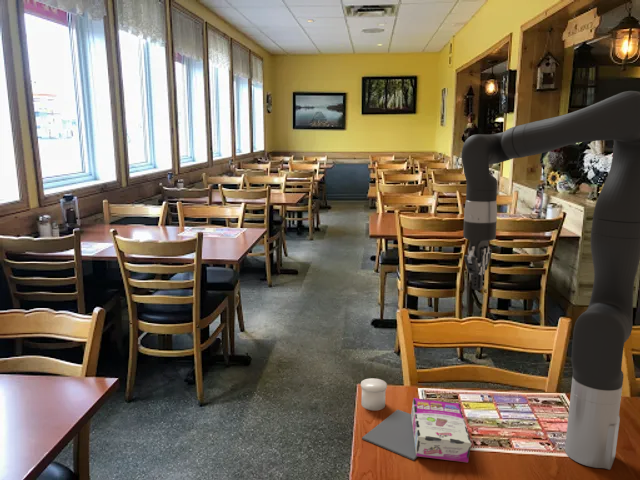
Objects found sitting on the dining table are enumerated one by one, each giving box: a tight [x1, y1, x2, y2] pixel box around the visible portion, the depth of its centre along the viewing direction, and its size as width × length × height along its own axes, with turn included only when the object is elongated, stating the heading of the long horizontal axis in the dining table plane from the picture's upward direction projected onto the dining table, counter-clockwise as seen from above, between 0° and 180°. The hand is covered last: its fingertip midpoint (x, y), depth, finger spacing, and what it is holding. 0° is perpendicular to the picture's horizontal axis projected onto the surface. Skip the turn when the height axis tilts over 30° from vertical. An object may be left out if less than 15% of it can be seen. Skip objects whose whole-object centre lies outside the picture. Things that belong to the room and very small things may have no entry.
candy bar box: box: [410, 397, 472, 463], centre depth 116 cm, size 11×5×16 cm
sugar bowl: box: [360, 377, 388, 411], centre depth 132 cm, size 7×7×6 cm
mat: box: [361, 409, 419, 461], centre depth 119 cm, size 13×16×1 cm
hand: (476, 289), depth 128 cm, fingers closed
